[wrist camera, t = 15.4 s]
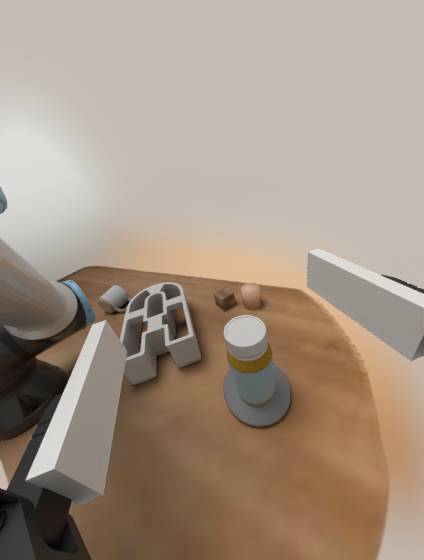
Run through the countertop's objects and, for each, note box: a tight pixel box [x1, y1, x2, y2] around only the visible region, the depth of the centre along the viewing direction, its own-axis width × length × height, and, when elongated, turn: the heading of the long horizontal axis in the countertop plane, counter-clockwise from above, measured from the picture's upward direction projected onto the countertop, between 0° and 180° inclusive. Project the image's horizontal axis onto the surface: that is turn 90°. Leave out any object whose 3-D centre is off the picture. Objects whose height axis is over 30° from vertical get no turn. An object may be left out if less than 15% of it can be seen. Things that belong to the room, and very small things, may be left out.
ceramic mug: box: [98, 285, 131, 313], centre depth 70 cm, size 11×8×8 cm
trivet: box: [224, 364, 291, 428], centre depth 36 cm, size 12×12×1 cm
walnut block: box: [214, 288, 236, 311], centre depth 59 cm, size 4×4×4 cm
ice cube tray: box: [120, 282, 201, 385], centre depth 53 cm, size 17×28×9 cm, turn 15°
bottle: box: [224, 315, 275, 405], centre depth 32 cm, size 7×7×15 cm
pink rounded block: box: [241, 283, 261, 310], centre depth 55 cm, size 5×5×6 cm
